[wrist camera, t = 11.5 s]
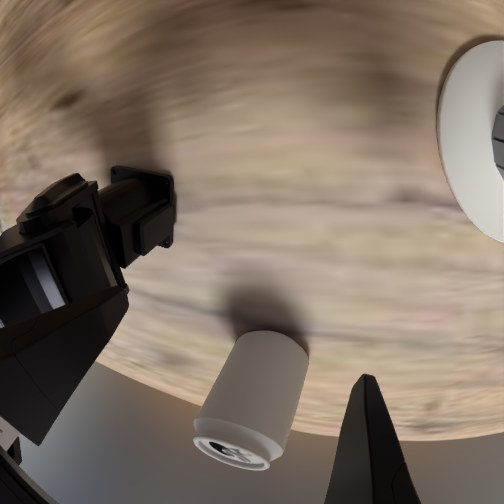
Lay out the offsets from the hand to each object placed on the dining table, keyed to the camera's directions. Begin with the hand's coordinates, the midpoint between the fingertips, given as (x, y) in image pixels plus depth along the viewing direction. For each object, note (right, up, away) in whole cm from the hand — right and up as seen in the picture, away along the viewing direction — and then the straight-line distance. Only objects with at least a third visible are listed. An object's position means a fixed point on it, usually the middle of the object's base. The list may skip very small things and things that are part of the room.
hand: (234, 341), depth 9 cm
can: (+3, -7, +18) cm, 19 cm away
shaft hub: (+18, +10, +2) cm, 21 cm away
